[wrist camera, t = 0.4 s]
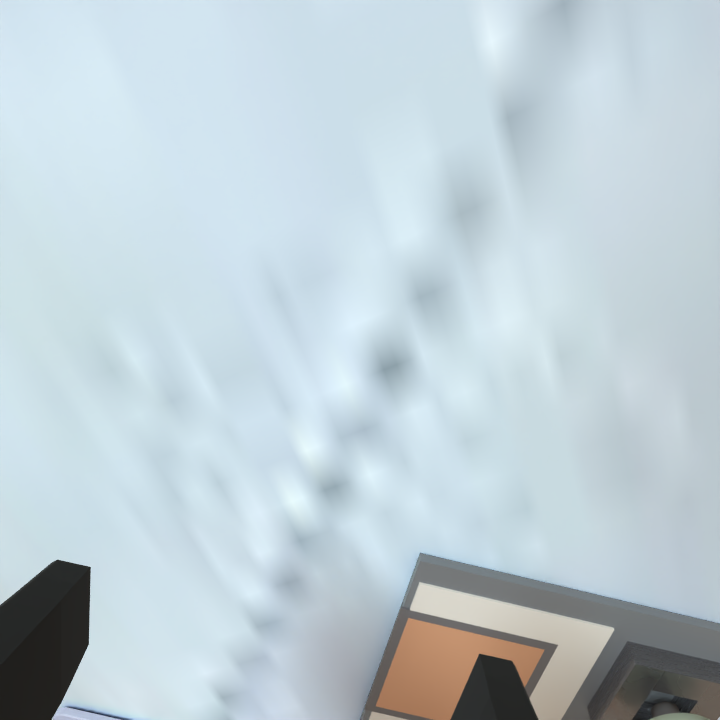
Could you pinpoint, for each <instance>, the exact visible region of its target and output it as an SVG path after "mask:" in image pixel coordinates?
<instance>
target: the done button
mask: <svg viewBox="0 0 720 720" xmlns="http://www.w3.org/2000/svg"><path fill="white" fill-rule="evenodd" d="M651 715H652V717H653V718H652V719H649V720H710V719H708V718H706V717H703V716H700V715H697V714H691V713H680V711H679V709H678V707H677V705H675V704H674V703H671V702H660V703H657V704H655V705H654V706H653V707H652V708H651Z"/></svg>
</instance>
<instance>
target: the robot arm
mask: <svg viewBox="0 0 720 720" xmlns="http://www.w3.org/2000/svg"><path fill="white" fill-rule="evenodd" d="M90 569H91V567H88V566H83V565H79V564H74V563H70V562H65V561H61V560H56V561H54V562H52V563H51V564H50V565H48V566H47V567H46V568H45V569H44V570H42V571H41V572H40V573H39V574H38V575H36V576H35V577H34V578H33V579H32V580H30V581H29V582H28V583H27V584H26V585H24V586H23V587H22V588H21V589H20V590H18V591H17V592H16V593H15V594H14V595H12V596H11V597H10V598H9V599H7V600H6V601H5V602H4V603H2V604H1V605H0V720H51V719H52V717H53V716H54V718H53V720H121V719H116V718H112V717H108V716H103V715H99V714H94V713H90V712H86V711H81V710H77V709H72V708H68V707H62V708H59V709H58V707H59V705H60V704H61V702H62V700H63V698H64V696H65V694H66V692H67V690H68V687H69V685H70V683H71V681H72V679H73V677H74V675H75V673H76V671H77V668H78V666H79V664H80V662H81V660H82V658H83V655H84V653H85V651H86V649H87V647H88V645H89V608H90ZM57 709H58V710H57ZM56 711H57V712H56ZM55 712H56V713H55ZM54 714H55V715H54ZM450 720H539V719H538V717H537V715H536V713H535V710H534V708H533V706H532V704H531V701H530V699H529V697H528V694H527V692H526V690H525V687H524V685H523V683H522V680H521V678H520V676H519V673H518V671H517V669H516V666H515V665H514V663H513V662H512V661H511V660H506V659H502V658H497V657H493V656H488V655H484V654H479V655H478V658H477V660H476V662H475V665H474V667H473V669H472V671H471V674H470V676H469V678H468V681H467V683H466V685H465V687H464V690H463V692H462V694H461V697H460V699H459V701H458V703H457V706H456V708H455V710H454V713H453V715H452V717H451V719H450Z"/></svg>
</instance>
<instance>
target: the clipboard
mask: <svg viewBox="0 0 720 720" xmlns="http://www.w3.org/2000/svg"><path fill="white" fill-rule="evenodd" d="M627 641H629V642H633V643H638V644H642V645H646V646H650V647H655V648H659V649H663V650H667V651H672V652H676V653H680V654H685V655H689V656H693V657H697V658H702V659H706V660H710V661H714V662H719V663H720V624H718V623H714V622H710V621H706V620H701V619H697V618H693V617H689V616H684V615H680V614H676V613H672V612H667V611H663V610H659V609H655V608H651V607H646V606H642V605H638V604H634V603H629V602H625V601H621V600H617V599H612V598H608V597H604V596H600V595H595V594H591V593H587V592H583V591H579V590H574V589H570V588H566V587H562V586H557V585H553V584H549V583H545V582H540V581H536V580H532V579H528V578H523V577H519V576H515V575H511V574H507V573H502V572H498V571H494V570H490V569H485V568H481V567H477V566H473V565H468V564H464V563H460V562H456V561H451V560H447V559H443V558H439V557H435V556H430V555H426V554H422V553H420V555H419V557H418V560H417V563H416V566H415V569H414V571H413V574H412V577H411V580H410V582H409V585H408V588H407V591H406V594H405V596H404V599H403V602H402V605H401V607H400V610H399V613H398V616H397V618H396V621H395V624H394V627H393V630H392V632H391V635H390V638H389V641H388V643H387V646H386V649H385V652H384V655H383V657H382V660H381V663H380V666H379V668H378V671H377V674H376V677H375V680H374V682H373V685H372V688H371V691H370V693H369V696H368V699H367V702H366V705H365V707H364V710H363V713H362V716H361V719H360V720H450V719H451V717H452V715H453V713H454V710H455V708H456V706H457V703H458V701H459V699H460V697H461V694H462V692H463V690H464V687H465V685H466V683H467V681H468V678H469V676H470V674H471V671H472V669H473V667H474V665H475V662H476V660H477V658H478V655H479V654H484V655H488V656H493V657H497V658H502V659H506V660H511V661H512V662H513V663H514V665H515V666H516V669H517V671H518V673H519V676H520V678H521V680H522V683H523V685H524V687H525V690H526V692H527V694H528V697H529V699H530V701H531V704H532V706H533V708H534V710H535V713H536V715H537V717H538V719H539V720H590V717H589V713H588V709H587V706H588V705H589V703H590V701H591V700H592V698H593V696H594V695H595V693H596V692H597V690H598V688H599V687H600V685H601V683H602V682H603V680H604V678H605V677H606V675H607V674H608V672H609V670H610V669H611V667H612V665H613V664H614V662H615V661H616V659H617V657H618V656H619V654H620V652H621V651H622V649H623V648H624V646H625V644H626V643H627ZM674 696H675V695H670V694H666V693H662V692H658V691H653V690H652V691H651V692H650V694H649V695H648V697H647V698H646V700H645V701H648V702H652V703H656V704H657V703H660V702H671V700H672V699H673V697H674Z"/></svg>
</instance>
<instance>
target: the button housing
mask: <svg viewBox="0 0 720 720" xmlns="http://www.w3.org/2000/svg"><path fill="white" fill-rule="evenodd" d="M652 690H653V691H658V692H662V693H666V694H670V695H675V696H674V697H673V699H672V700H671V703H674V704H675V705H677V707H678V709H679V711H680V713H691V714H697V715H700V716H703V717H706V718H708V719H710V720H717V719H718V718H719V717H720V663H719V662H714V661H710V660H706V659H702V658H697V657H693V656H689V655H685V654H680V653H676V652H672V651H667V650H663V649H659V648H655V647H650V646H646V645H642V644H638V643H633V642H629V641H627V643H626V644H625V646H624V648H623V649H622V651H621V652H620V654H619V656H618V657H617V659H616V661H615V662H614V664H613V665H612V667H611V669H610V670H609V672H608V674H607V675H606V677H605V678H604V680H603V682H602V683H601V685H600V687H599V688H598V690H597V692H596V693H595V695H594V696H593V698H592V700H591V701H590V703H589V705H588V706H587V709H588V713H589V717H590V720H649V719H652V718H653V717H652V715H651V708H652V707H653V706H654V705H655V704H656V703H652V702H648V701H645V700H646V698H647V697H648V695H649V694H650V692H651V691H652Z"/></svg>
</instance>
